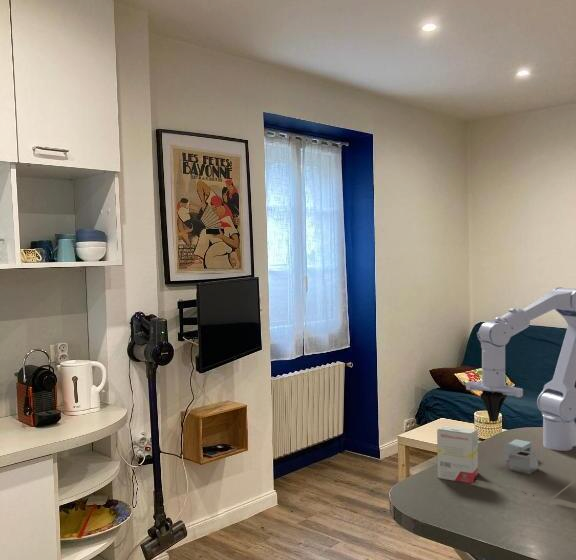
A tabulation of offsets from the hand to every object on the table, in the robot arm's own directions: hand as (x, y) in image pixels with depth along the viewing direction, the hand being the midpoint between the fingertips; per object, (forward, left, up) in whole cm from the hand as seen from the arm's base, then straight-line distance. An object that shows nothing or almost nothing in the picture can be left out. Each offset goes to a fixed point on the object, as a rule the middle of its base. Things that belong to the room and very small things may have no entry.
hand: (493, 420), depth 158 cm
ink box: (+19, 0, -10) cm, 22 cm away
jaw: (+6, +11, -9) cm, 15 cm away
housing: (0, +7, -9) cm, 11 cm away
